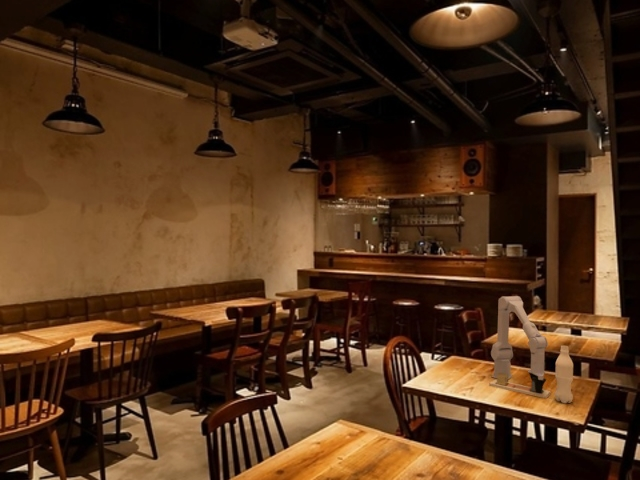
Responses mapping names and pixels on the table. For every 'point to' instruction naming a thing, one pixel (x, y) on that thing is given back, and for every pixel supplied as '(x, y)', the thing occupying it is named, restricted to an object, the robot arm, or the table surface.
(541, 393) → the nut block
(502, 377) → the brass block
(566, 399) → the water bottle
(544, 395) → the beige rectangular frame
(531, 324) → the robot arm
